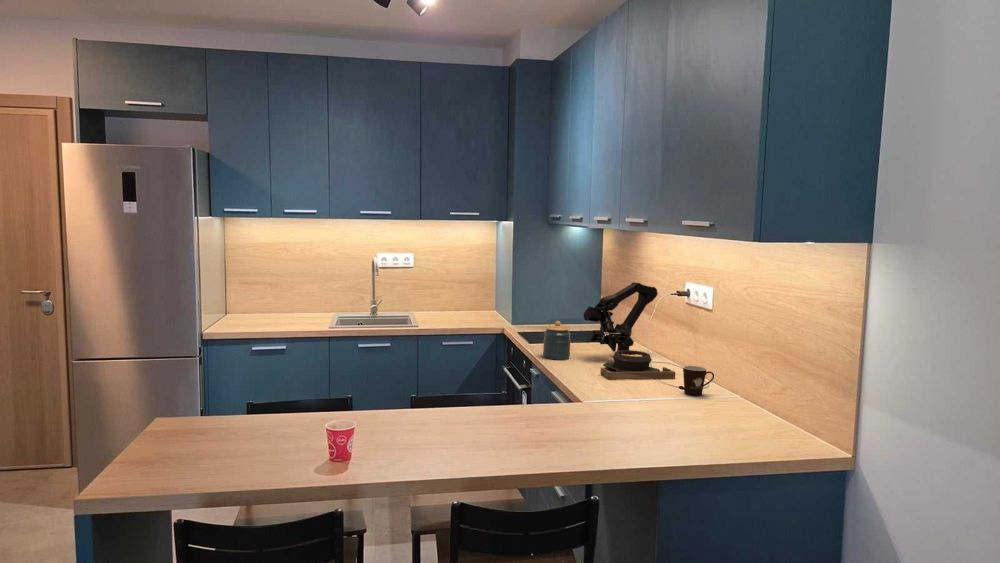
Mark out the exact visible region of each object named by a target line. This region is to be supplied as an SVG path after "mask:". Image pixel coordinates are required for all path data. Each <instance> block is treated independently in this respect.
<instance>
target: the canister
mask: <svg viewBox="0 0 1000 563" xmlns="http://www.w3.org/2000/svg"><path fill="white" fill-rule="evenodd" d="M545 329H546V330H544V332H543V334H544V338H543V345H542V346H543V350H542V357H543V358H545V359H547V358H548V359H547V360H553V359H555V361H564V360H563V359H566V360H569V359H570V357H571V341H572V339H571V335H572V333H571V332H570V327H568V326H567V325H565V324H561V321H560V320H556V321H555V322H554V323H553V324H548V325H547V326H546V327H545ZM568 358H569V359H568Z"/></svg>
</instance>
